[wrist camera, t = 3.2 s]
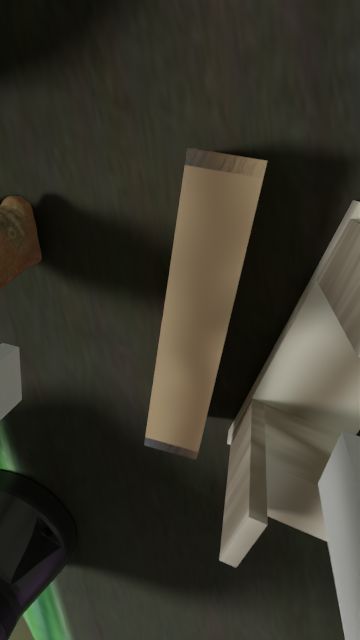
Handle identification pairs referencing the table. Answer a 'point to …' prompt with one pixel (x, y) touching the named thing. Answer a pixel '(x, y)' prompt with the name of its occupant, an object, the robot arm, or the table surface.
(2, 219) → the figurine
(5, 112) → the table surface
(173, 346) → the rail
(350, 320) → the wooden beam cradle
